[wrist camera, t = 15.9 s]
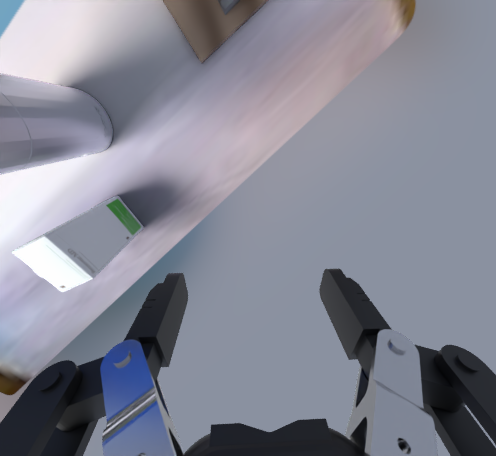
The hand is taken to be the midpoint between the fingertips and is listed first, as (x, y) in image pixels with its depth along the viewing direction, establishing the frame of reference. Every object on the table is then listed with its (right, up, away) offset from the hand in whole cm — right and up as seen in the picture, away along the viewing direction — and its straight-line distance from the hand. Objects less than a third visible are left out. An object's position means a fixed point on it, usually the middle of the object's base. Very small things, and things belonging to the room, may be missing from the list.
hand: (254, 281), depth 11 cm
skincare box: (-27, +5, +28) cm, 39 cm away
